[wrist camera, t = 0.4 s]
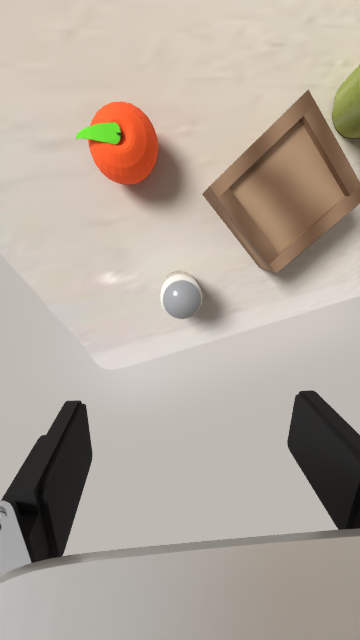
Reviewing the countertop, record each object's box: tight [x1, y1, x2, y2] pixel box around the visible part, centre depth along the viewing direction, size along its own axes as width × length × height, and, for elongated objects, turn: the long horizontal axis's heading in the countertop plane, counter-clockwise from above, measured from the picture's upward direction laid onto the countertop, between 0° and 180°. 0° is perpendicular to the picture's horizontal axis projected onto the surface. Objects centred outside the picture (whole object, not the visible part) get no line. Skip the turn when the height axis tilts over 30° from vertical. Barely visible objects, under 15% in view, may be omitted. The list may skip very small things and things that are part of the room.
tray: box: [202, 90, 360, 273], centre depth 29 cm, size 12×12×6 cm
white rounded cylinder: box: [160, 271, 203, 319], centre depth 31 cm, size 5×5×6 cm
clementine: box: [76, 102, 158, 185], centre depth 25 cm, size 8×7×7 cm
